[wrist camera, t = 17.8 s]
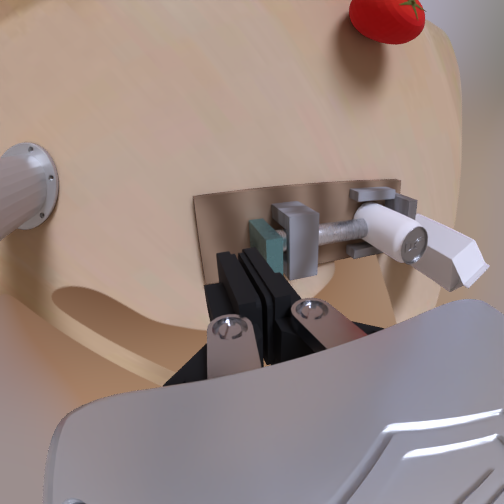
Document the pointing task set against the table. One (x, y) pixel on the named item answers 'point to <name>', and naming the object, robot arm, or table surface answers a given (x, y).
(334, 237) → the shaft
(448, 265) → the milk carton
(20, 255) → the table surface
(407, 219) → the can
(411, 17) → the tomato
